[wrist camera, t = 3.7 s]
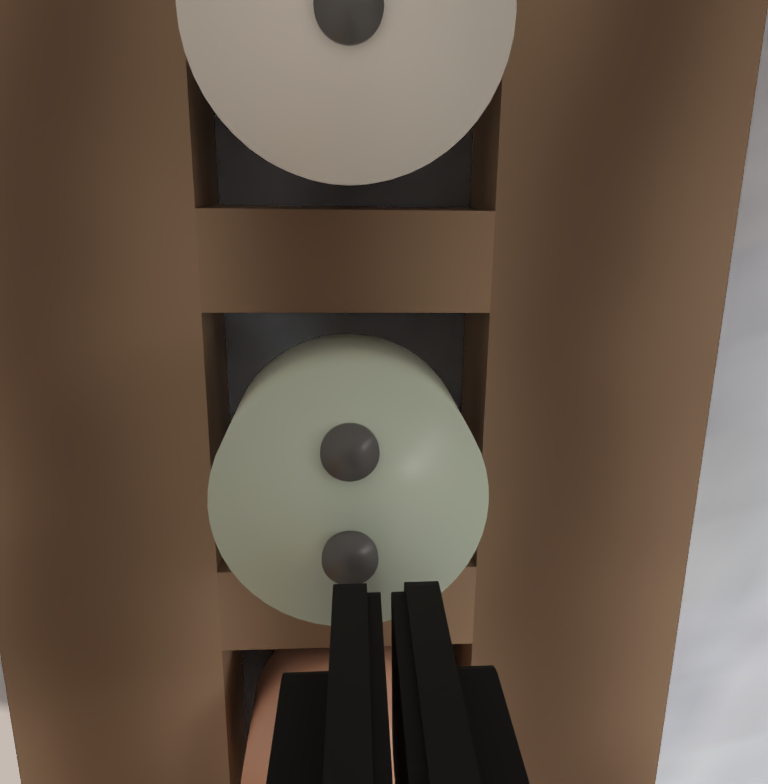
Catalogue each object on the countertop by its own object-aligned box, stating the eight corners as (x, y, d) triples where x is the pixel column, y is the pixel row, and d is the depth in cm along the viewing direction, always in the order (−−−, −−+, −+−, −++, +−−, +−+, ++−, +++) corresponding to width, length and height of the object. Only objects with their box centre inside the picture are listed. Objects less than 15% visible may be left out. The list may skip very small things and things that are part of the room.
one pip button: (485, -104, 11) (530, -193, 9) (473, 186, 12) (508, 187, 10) (202, -114, 11) (160, -211, 8) (218, 184, 12) (185, 182, 9)
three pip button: (442, 616, 16) (461, 698, 14) (436, 770, 18) (453, 872, 15) (251, 621, 16) (234, 706, 14) (258, 777, 17) (244, 883, 15)
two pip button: (466, 333, 13) (498, 369, 10) (456, 547, 14) (483, 628, 12) (225, 333, 13) (196, 371, 10) (237, 551, 14) (213, 635, 11)
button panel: (718, -155, 13) (802, -230, 11) (603, 790, 19) (641, 875, 17) (-57, -188, 12) (-151, -278, 10) (79, 812, 18) (41, 905, 16)
